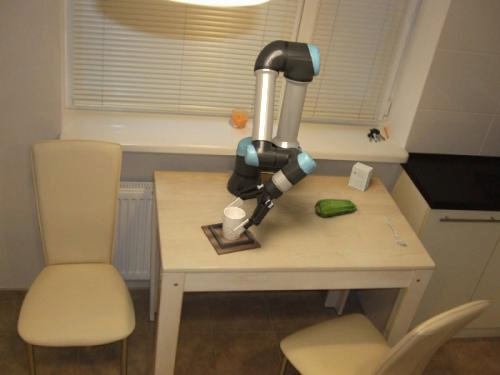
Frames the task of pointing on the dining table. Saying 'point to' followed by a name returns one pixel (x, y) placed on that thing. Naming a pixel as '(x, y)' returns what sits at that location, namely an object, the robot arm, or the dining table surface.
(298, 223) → the dining table surface
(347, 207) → the vegetable
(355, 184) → the small box
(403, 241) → the fork
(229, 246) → the dock board
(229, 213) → the white cup
